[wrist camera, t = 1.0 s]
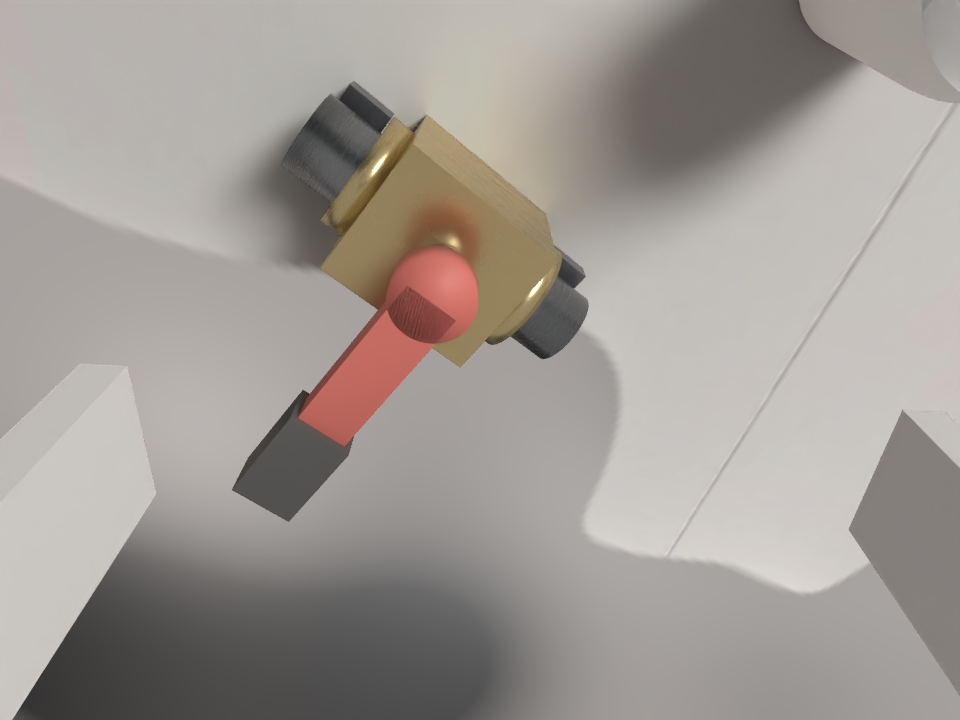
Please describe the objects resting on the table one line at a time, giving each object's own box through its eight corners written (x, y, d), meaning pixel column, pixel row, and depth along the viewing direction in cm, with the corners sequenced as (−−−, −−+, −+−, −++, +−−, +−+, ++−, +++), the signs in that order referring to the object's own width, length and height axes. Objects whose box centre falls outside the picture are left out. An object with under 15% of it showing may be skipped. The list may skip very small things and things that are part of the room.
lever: (426, 224, 27) (421, 244, 24) (495, 277, 28) (496, 301, 26) (242, 454, 32) (226, 486, 30) (306, 491, 33) (294, 524, 31)
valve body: (285, 172, 35) (221, 230, 26) (360, 59, 32) (316, 84, 24) (516, 344, 40) (525, 439, 31) (598, 258, 37) (632, 337, 29)
